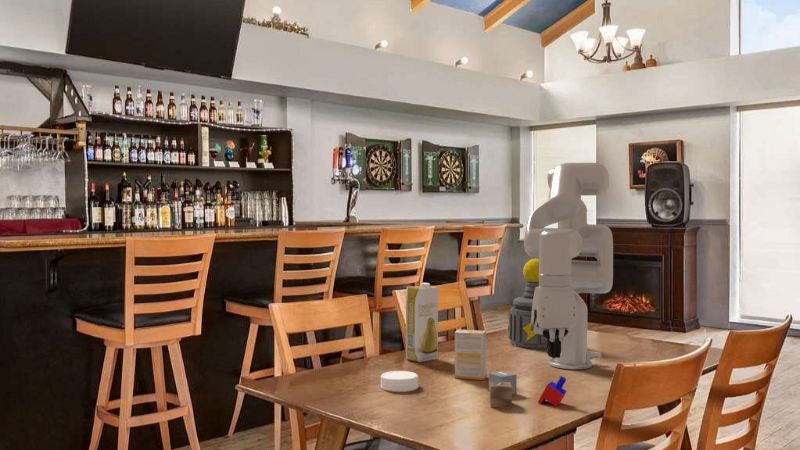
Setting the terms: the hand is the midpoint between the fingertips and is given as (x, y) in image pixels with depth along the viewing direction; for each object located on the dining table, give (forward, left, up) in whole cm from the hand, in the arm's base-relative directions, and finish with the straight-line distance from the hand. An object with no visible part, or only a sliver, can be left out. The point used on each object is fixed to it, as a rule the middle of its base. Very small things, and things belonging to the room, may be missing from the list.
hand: (554, 356), depth 170 cm
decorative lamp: (-30, -69, -12) cm, 76 cm away
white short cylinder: (+32, -24, -12) cm, 42 cm away
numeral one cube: (+8, -12, -11) cm, 18 cm away
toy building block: (+1, +1, -12) cm, 11 cm away
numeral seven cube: (+13, -2, -11) cm, 17 cm away
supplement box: (+10, -29, -12) cm, 32 cm away
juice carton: (+16, -55, -11) cm, 58 cm away
